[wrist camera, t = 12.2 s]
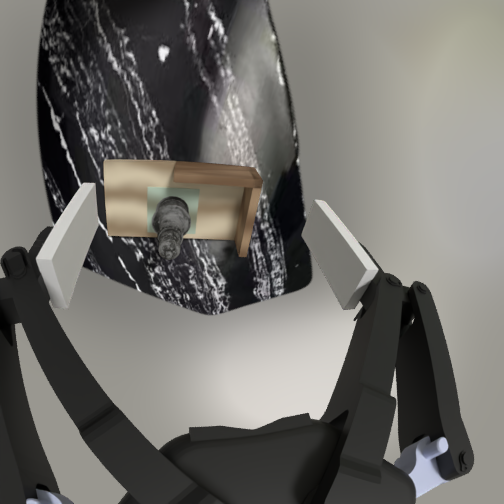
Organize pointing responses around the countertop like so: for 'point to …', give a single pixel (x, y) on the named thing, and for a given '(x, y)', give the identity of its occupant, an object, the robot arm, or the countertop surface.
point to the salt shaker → (171, 225)
